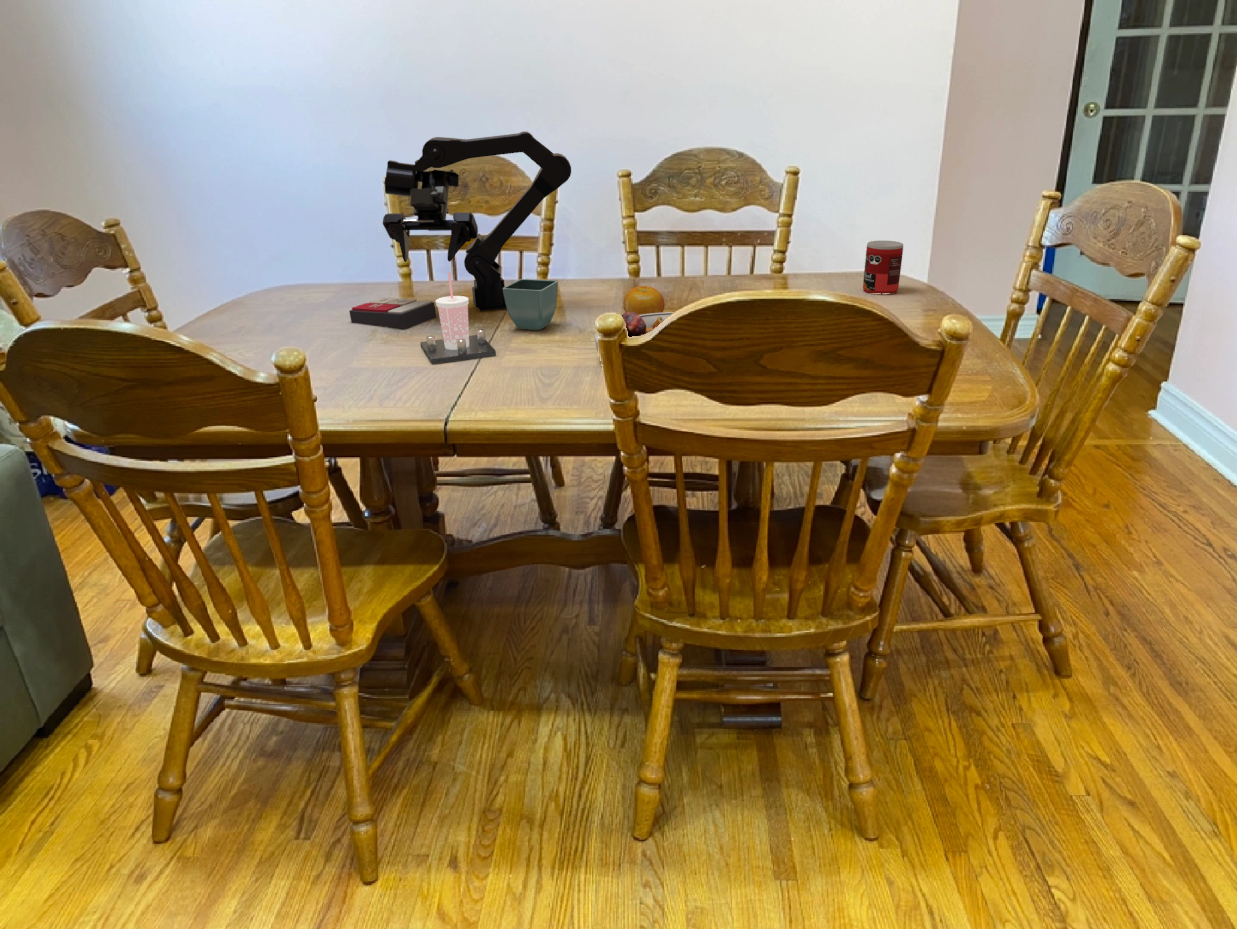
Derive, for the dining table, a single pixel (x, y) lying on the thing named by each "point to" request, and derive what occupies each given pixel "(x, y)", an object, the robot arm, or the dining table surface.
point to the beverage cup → (453, 318)
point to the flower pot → (531, 302)
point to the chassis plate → (453, 353)
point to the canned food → (882, 266)
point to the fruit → (644, 301)
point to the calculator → (393, 313)
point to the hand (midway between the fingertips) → (426, 260)
